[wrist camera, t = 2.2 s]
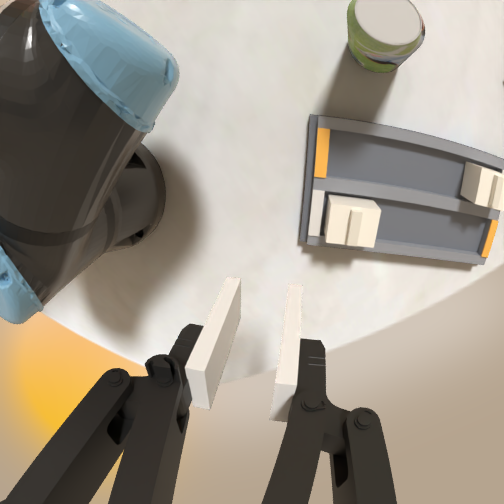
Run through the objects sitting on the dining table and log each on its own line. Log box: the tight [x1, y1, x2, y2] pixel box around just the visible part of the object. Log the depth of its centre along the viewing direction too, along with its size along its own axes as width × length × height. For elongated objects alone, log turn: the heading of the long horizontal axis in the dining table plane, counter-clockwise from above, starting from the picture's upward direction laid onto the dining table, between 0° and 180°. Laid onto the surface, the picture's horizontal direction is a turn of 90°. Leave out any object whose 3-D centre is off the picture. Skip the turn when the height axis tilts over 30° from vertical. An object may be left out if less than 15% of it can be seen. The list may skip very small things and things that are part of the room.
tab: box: [324, 194, 381, 248], centre depth 28 cm, size 5×4×4 cm
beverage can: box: [347, 0, 425, 73], centre depth 17 cm, size 6×7×12 cm
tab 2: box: [460, 162, 504, 211], centre depth 23 cm, size 5×4×4 cm
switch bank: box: [300, 114, 504, 265], centre depth 27 cm, size 26×14×2 cm, turn 88°
